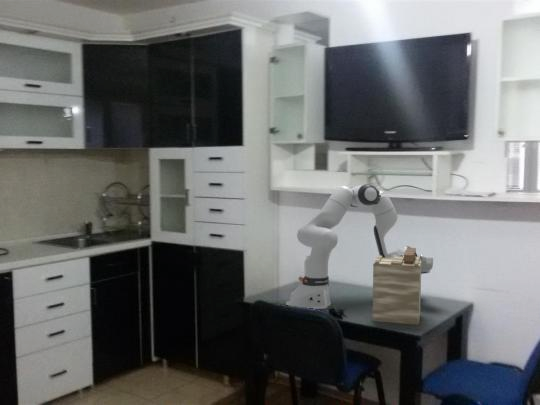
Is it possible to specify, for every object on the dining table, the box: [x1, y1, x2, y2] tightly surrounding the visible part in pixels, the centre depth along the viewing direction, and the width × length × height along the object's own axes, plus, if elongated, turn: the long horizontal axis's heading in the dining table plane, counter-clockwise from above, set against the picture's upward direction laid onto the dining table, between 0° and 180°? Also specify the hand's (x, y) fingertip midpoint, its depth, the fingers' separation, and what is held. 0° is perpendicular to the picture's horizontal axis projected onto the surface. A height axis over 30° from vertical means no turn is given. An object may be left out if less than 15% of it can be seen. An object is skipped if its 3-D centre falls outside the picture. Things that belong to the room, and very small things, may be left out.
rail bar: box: [404, 247, 417, 264], centre depth 258 cm, size 20×4×4 cm, turn 163°
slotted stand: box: [371, 254, 422, 326], centre depth 255 cm, size 16×20×27 cm
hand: (411, 256), depth 267 cm, fingers open, 8 cm apart
